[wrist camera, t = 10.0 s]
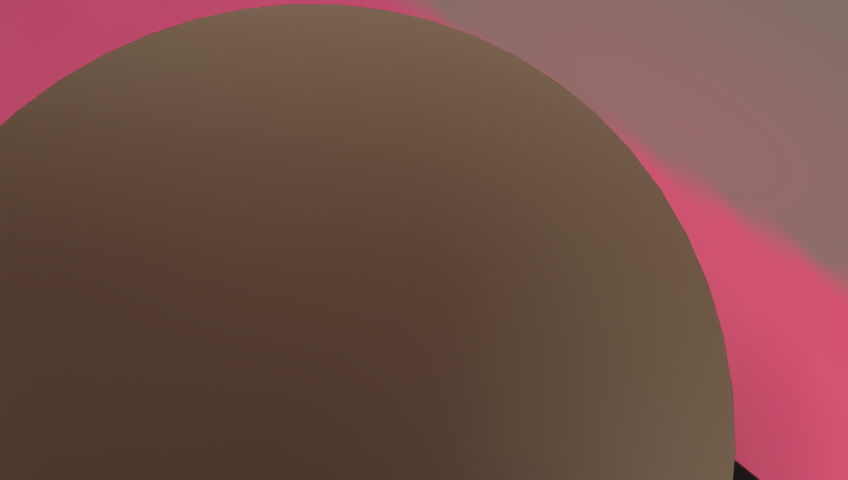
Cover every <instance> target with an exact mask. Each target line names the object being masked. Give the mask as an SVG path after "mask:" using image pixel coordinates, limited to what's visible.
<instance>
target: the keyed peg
mask: <svg viewBox="0 0 848 480" xmlns="http://www.w3.org/2000/svg"><path fill="white" fill-rule="evenodd" d="M734 461H735V434H734V409H733V391H732V385H731V379H730V373H729V367H728V361H727V355H726V349H725V343H724V337H723V333H722V329H721V326H720V323H719V319H718V316H717V313H716V309H715V306H714V302H713V299H712V296H711V292H710V289H709V286H708V282H707V280H706V278H705V275H704V273H703V271H702V268H701V266H700V264H699V262H698V259H697V257H696V255H695V252H694V250H693V248H692V245H691V243H690V241H689V239H688V236H687V234H686V232H685V230H684V229H683V227H682V225H681V224H680V222H679V220H678V218H677V217H676V215H675V213H674V212H673V210H672V208H671V207H670V205H669V203H668V201H667V200H666V198H665V196H664V195H663V193H662V191H661V189H660V188H659V187H658V185H657V184H656V183H655V181H654V180H653V179H652V177H651V176H650V175H649V174H648V172H647V171H646V170H645V168H644V167H643V166H642V164H641V163H640V162H639V160H638V159H637V158H636V156H635V155H634V154H633V152H632V151H631V150H630V149H629V147H628V146H627V145H626V144H625V143H624V142H623V141H622V140H621V139H620V138H619V137H618V136H617V135H616V134H615V133H614V132H613V131H612V130H611V129H610V128H609V127H608V126H607V125H606V124H605V123H604V122H603V121H602V120H601V119H600V118H599V116H598V115H597V114H596V113H594V112H593V111H592V110H591V109H590V108H588V107H587V106H586V105H585V104H583V103H582V102H581V101H580V100H579V99H577V98H576V97H575V96H574V95H572V94H571V93H570V92H569V91H568V90H566V89H565V88H564V87H563V86H561V85H560V84H559V83H558V82H556V81H555V80H553V79H551V78H550V77H548V76H547V75H545V74H544V73H542V72H540V71H539V70H537V69H536V68H534V67H533V66H531V65H530V64H528V63H526V62H525V61H523V60H522V59H520V58H518V57H517V56H515V55H512V54H511V53H509V52H506V51H504V50H502V49H500V48H498V47H496V46H494V45H492V44H490V43H488V42H486V41H484V40H482V39H480V38H478V37H476V36H473V35H470V34H467V33H465V32H462V31H459V30H456V29H453V28H450V27H448V26H445V25H442V24H439V23H436V22H433V21H430V20H426V19H422V18H417V17H413V16H409V15H404V14H400V13H396V12H391V11H387V10H380V9H371V8H363V7H354V6H346V5H316V4H290V5H280V6H270V7H260V8H250V9H242V10H237V11H233V12H228V13H223V14H218V15H214V16H209V17H204V18H199V19H195V20H192V21H189V22H186V23H183V24H180V25H177V26H174V27H171V28H168V29H164V30H161V31H158V32H155V33H152V34H149V35H147V36H145V37H143V38H140V39H138V40H136V41H134V42H131V43H129V44H127V45H125V46H122V47H120V48H118V49H116V50H113V51H111V52H109V53H107V54H104V55H102V56H101V57H99V58H97V59H96V60H94V61H92V62H90V63H89V64H87V65H85V66H83V67H82V68H80V69H78V70H77V71H75V72H73V73H71V74H70V75H68V76H66V77H64V78H63V79H61V80H59V81H58V82H56V83H55V84H54V85H52V86H51V87H50V88H48V89H47V90H46V91H44V92H43V93H41V94H40V95H39V96H37V97H36V98H35V99H33V100H32V101H31V102H29V103H28V104H26V105H25V106H24V107H22V108H21V109H20V110H18V111H17V112H16V113H14V114H13V115H12V116H11V117H10V118H9V119H8V120H7V121H6V122H5V123H3V124H2V125H1V126H0V480H733V473H734Z"/></svg>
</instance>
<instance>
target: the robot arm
mask: <svg viewBox="0 0 848 480" xmlns="http://www.w3.org/2000/svg"><path fill="white" fill-rule="evenodd" d="M733 480H759V479H758V478H757V477H756V476H754V475H753V474H752V473H751V472H749V471H748V470H747V469H746V468H744V467H743V466H742V465H741V464H739V463H738V462H737V461H736V460H735V461H734V473H733Z"/></svg>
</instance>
